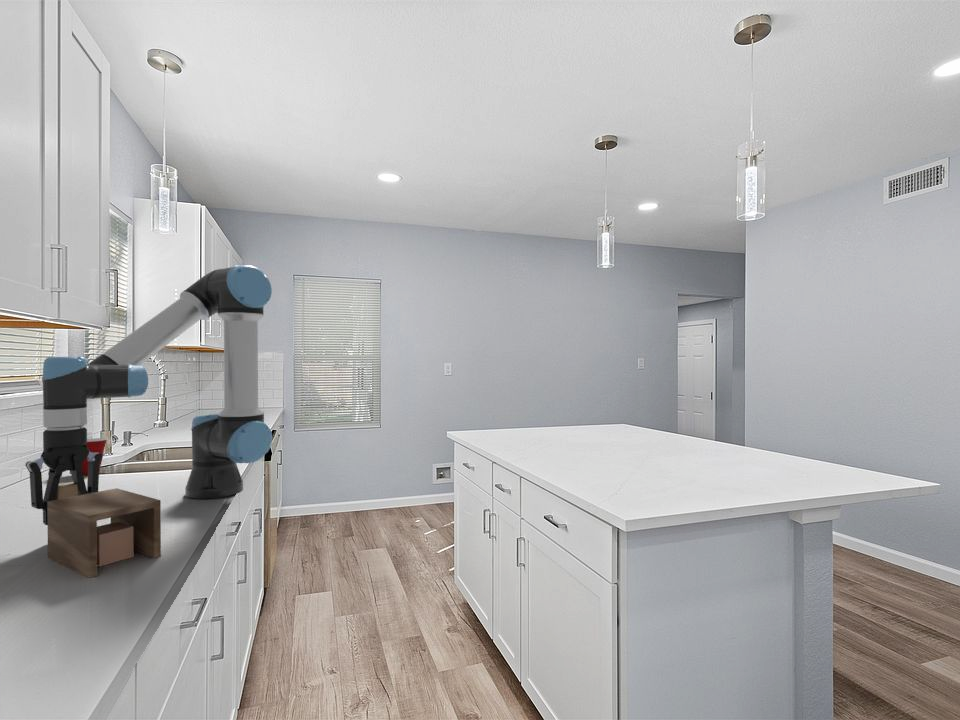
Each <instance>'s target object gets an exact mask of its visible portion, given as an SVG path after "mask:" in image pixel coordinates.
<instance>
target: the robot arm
mask: <svg viewBox="0 0 960 720" xmlns="http://www.w3.org/2000/svg"><path fill="white" fill-rule="evenodd" d="M272 291H273V289H272V285H271V282H270V279H269V278H268V276H267V275H266V274H265V273H264V272H263V271H262V270H261V269H259V268H258V267H256V266H253V265H247V264H246V265H244V264H243V265H239V264H238V265H234V266H230V267H225V268H219V269H215V270H212V271H209V272H208V273H206V274H205V275H203V276H202V277H200V278H199V279H197V281H195V282H194V283H193V284H191V285H190V286H189V287H187V288H186V289H184V290H183V291H182V292H180V294H179V299H177V300H175V301H173V303H171V304H170V305H169V306H168V307H166V308H164V309H163V310H162V311H160V312H159V313H158V314H155V316H152V318H150V319H149V320H148V321H146V322H145V323H144V324H142V325H141V326H140V327H138V328H137V329H135V330H134V331H132V332H131V333H129V334H128V335H127V336H126V337H124V338H122V339H121V340H120V341H118V343H115V344H114V345H112V346H111V347H110V348H108V349H107V350H106V351H104V352H103V353H102V354H100V355H99V356H97V357H95V358H94V359H93V360H92V361H90V362H89V363H88V361H87V358H86V357H84V356H49V357H48V356H47V357H46V358H45V359H44V361H43V366H42V368H43V369H42V376H41V380H42V397H43V398H42V401H43V402H42V403H43V408H42V415H43V416H42V419H43V421H42V422H43V423H42V425H43V428H44V431H43V432H42V442H43V443H42V447H43V451H42V453H41V455H40V457H39V458H37V459H34V460H32V461H30V460H29V461H26V462H25V468H26V469H27V471H28V472H29V484H30V488H29V489H30V502H31V504H30V505H31V508H34V509H38V510H42V523H43V525H44V526H48V519H47V501H52V500H55V499H56V494H57V490H58V485H60V481H61V477H62V476H63V473H64V472H68V471H69V473H70V474H71V478H72V483H76V484H78V496H79V495H84V494H89V493H94V492H99V482H100V481H99V480H100V479H99V478H100V471H99V464H100V461H101V459H102V460H103V458H102V456H103V457H104V454H103V455H102V454H101V453H95V452H94V453H93V452H89V449H88V448H87V439H88V428H87V427H85V426H86V425H87V424H88V409H87V407H88V403H87V402H88V400H95V399H112V398H114V399H115V398H131V397H141V396H143V395H145V393H146V392H147V390H148V387H149V375H148V372H147V370H146V368H145V367H144V366H142V365H143V364H144V363H145V362H146V361H148V360H149V359H150V358H151V357H154V355H156V354H157V353H158V352H159V351H161V350H162V349H164V348H165V347H166V346H167V345H169V344H170V343H171V342H173V341H174V340H175V339H177V338H178V337H179V336H181V335H182V334H184V332H185V331H187V330H188V329H190V328H191V327H193V326H194V325H195V324H196V323H198V322H199V321H207V320H208V319H209V318H210V317H212V316H213V315H215V314H217V315H218V317H220V318H221V319H222V321H223V372H224V374H223V380H224V381H223V383H224V385H223V388H224V389H223V391H224V394H223V395H224V396H223V398H224V403H223V405H224V407H223V408H222V410H221V411H220V412H219V413H213V414H211V413H210V414H202V415H196V416H195V417H193V419H192V423H191V429H190V430H191V460H192V461H191V462H192V465H191V466H192V467H191V470H190V474H189V477H188V479H187V483H186V485H185V497H186V498H189V499H197V500H198V499H200V500H201V499H202V500H206V499H207V500H208V499H218V498H225V497H230V496H234V495H237V494H240V493H241V492H242V491H244V481H243V478H242V475H241V473H240V470H239V468H238V465H237V464H252V463H255V462H258V461H259V460H261V459H262V458H263V457H264V456H265V455H266V454H267V453H268V452H269V451H270V449H271V446H272V443H273V433H272V429H271V428H270V427H269V426H268V424H267V423H265V412H264V411H263V410H262V409H261V408H260V407H259V353H258V352H259V350H258V349H259V346H258V344H259V343H258V342H259V328H258V327H259V321H260V320H261V319H262V318H263V317H264V307H265V305H266V304H267V303H268V302H269V301H270V300H271V297H272ZM267 305H268V304H267ZM87 457H88V459H87V460H88V461H89V463H88V475H87V485H86V481H85V478H84V475H83V469H82V465H81V464H82V463H83V462H84V460H85V459H86V458H87ZM43 464H45V466H47V467H48V469H49V470H48V474H47V475H48V477H47V482H46V486H45V492H44V494H43V477H42V476H43V475H42V471H41V470H42V469H43Z"/></svg>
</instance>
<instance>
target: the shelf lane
mask: <svg viewBox="0 0 960 720" xmlns="http://www.w3.org/2000/svg"><path fill="white" fill-rule="evenodd" d="M161 503H162V502H161V500H160V499H157V498H154V497H150V496H147V495H143V494H139V493H135V492H132V491H128V490H124V489H120V488H111V489H110V488H109V489H106V490H101V491H98V492H94V493H89V494H84V495H79V496H73V497H68V498H63V499H57V500H52V501H47V519H48V525H47V559H50V560H52V561H53V562H56V563H58V564H59V565H62V566H64V567H65V568H68V569H71V570H72V571H74V572H77V573H78V574H81V575H83V576H85V577H87V578H93V577H94V578H95V577H97V576H98V566H97V527H98V521H103V520H106V519H110V523H114V522H121V523H124V524H127V525H130V526H133V551H135V552H138V553H141V554H142V555H146V556H148V557H151V558H154V559H155V558H156V559H157V558H159V557H161V555H162V548H161V547H162V541H161V540H162V539H161V535H162V533H161V532H162V530H161V528H162V527H161V526H162V525H161V522H162V521H161V518H162V517H161V515H162V513H161V510H162V509H161V507H162V506H161Z"/></svg>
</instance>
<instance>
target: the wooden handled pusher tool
mask: <svg viewBox="0 0 960 720" xmlns="http://www.w3.org/2000/svg"><path fill="white" fill-rule="evenodd" d="M73 496H78V484H76V483H73V482H69V483H61V484H59V485H58V490H57V494H56V499H55V500H57V499H63V498H68V497H73ZM133 557H134V550H133V526H130V525H127V524H124V523H121V522H114V523H111V522H110V523H107V524H103V525H97V565H98V566H97V567H103V566H106V565H110V564H112V563H116V562H119V561H123V560H126V559H129V558H133ZM109 563H110V564H109ZM105 564H106V565H105ZM102 565H103V566H102Z"/></svg>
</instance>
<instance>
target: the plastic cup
mask: <svg viewBox="0 0 960 720" xmlns="http://www.w3.org/2000/svg"><path fill="white" fill-rule="evenodd" d="M108 440H109V438H108V437H106V438H105V437H100V438H96V437H95V438H87V448H88V449H89V452H93V453H94V452H95V453H101V454H102V455H103V456H102V459H101V461H100V464H99V472H100V470H101V466H102V462H103V457H104V452H105V447H106V445H107V441H108ZM87 459H88V457H87V458H86V459H85V460H84V462H83V463H82V464H81V465H82V469H83V476H88V463H89V461H88V460H87Z"/></svg>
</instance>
